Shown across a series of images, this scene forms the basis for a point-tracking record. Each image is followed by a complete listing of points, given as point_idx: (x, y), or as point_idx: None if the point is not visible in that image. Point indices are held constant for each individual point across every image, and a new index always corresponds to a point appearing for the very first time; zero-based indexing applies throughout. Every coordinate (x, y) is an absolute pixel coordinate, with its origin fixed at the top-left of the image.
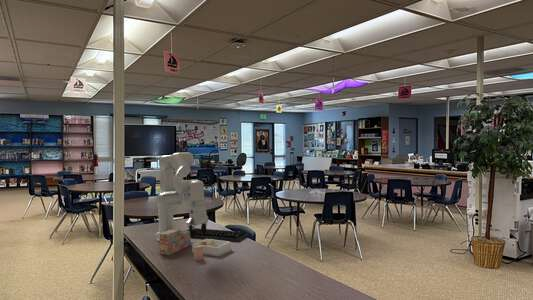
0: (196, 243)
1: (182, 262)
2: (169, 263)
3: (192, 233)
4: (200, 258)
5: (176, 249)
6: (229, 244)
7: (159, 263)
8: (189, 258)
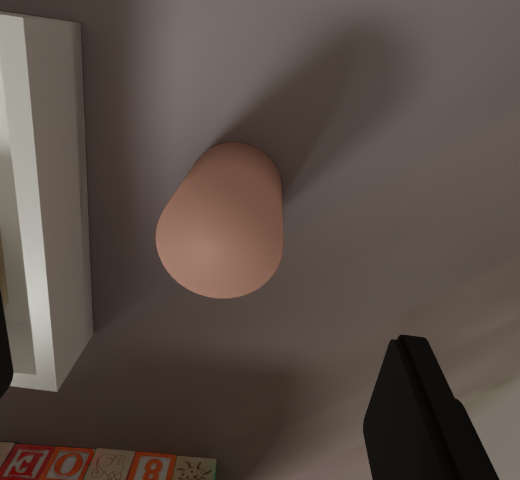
0: None
1: (358, 283)
2: None
3: (473, 428)
4: (262, 156)
5: (115, 466)
6: None
7: None
8: None
